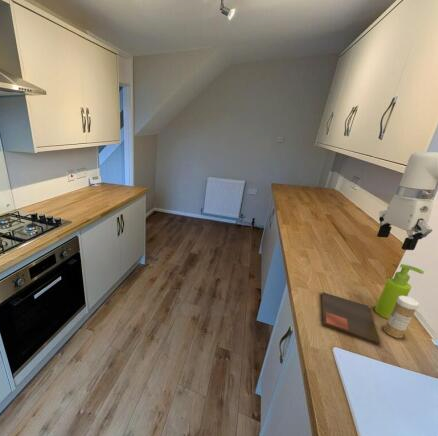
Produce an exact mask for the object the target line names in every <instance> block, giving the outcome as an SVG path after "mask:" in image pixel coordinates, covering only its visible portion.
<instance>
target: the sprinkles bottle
mask: <svg viewBox="0 0 438 436" xmlns="http://www.w3.org/2000/svg"><path fill="white" fill-rule="evenodd" d="M419 305H420V302H418V301H417V300H416V299H414V298H413V297H410V296H398V298H397V300H396V305H395V307H394V309H393V311H392V312H391V315H390V317H389V319H388V318H387V322H386V324H385V326H384V328H383V330H384V332H385V333H386V334H388V335H389V336H390V337H391V336H392V337H393V338H396V339H402V338H403V337H404V334H405V331H406V330H407V328H408V327H409V325H410V324H411V323H410V322H411V321H412V319H413V316H414V315H415V312H416V310H417V309H418V308H419Z"/></svg>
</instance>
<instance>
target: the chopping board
mask: <svg viewBox="0 0 438 436" xmlns="http://www.w3.org/2000/svg"><path fill="white" fill-rule="evenodd" d="M321 302H322V321H323V323H322V324H323V327H326V328H328V329H332V330H335V331H336V332H340V333H343V334H346V335H349V336H351V337H353V338H357V339H359V340H363V341H365V342H368V343H372V344H374V345H377V346H379V345H380V339H379V336H378V332H377V330H376V326H375V323H374V320H373V316H372V314H371V311H370V307H369V305H368V304H364V303H361V302H357V301H354V300H351V299H348V298H344V297H340V296H338V295H334V294H330V293H327V292H325V291H324V292H322V293H321Z"/></svg>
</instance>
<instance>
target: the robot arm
mask: <svg viewBox="0 0 438 436" xmlns="http://www.w3.org/2000/svg"><path fill="white" fill-rule="evenodd" d="M406 163H407V164H406V166H405V168H404V170H403V175H402V176H401V179H400V182H399V185H398V188H397V190H396V193H395V194H394V195H393V197H392V198H391V200H390V202H389V204H388V206H387V208H386V209H385V210H380V211H379V212H378V213H379V219H378V220H379V229H378V231H377V235H376V236H377V237H378V238H389V237H390V234H391V231H392V226H393V227H396V228H398V229H401V230H402V231H406V234H407V237H405V238H404V240H403V244H402V245H401V250H404V251H414V250H415V249H416V247H417V244H418V242H419V240H422V239H423V238H426V237H427V236H428V235H429V234H430V233H432V232H433V229H432V227H431V226H430V225H429V224H428V223H429V220H430V217H431V215H432V211H433V210H432V209H433V200H432V198H434V197H435V193H434V192H435V190H436V187H437V185H438V151H416V152H413V153H411V154H410V157H409V158H408V160H407V162H406Z"/></svg>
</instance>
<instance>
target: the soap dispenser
mask: <svg viewBox="0 0 438 436" xmlns="http://www.w3.org/2000/svg"><path fill="white" fill-rule="evenodd" d="M399 268H401V269H400V271H396V272H395V274H394V276H393V278H391V277H390V278H387V280H386V282H385V284H384V287H383V289H382V291H381V294H380V296H379V299H378V300H377V303H376V306H375V308H374V311H375V313H377V315H379V316H381V317H382V318H385V319H387V320H388V319H389V317H390V315H391V312H392V311H393V309H394V307H395V305H396V300H397V298H398V296H407V297H409V294H410V291H411V289H412V286H411V284H410V283H408V282H409V280H410V278H411V276H410V275H409V271H413V272H416V273H418V274H421V275H423V274H424V273H425V271H424V270H423V269H421V268H418V267H416V266H413V265H409V264H404V263H400V265H399Z"/></svg>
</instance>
